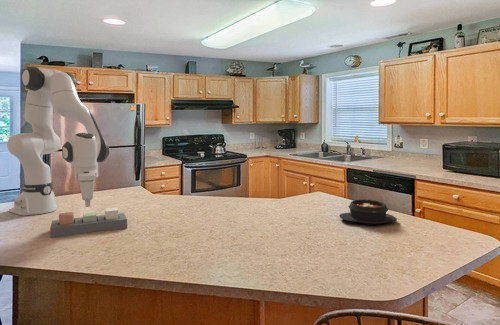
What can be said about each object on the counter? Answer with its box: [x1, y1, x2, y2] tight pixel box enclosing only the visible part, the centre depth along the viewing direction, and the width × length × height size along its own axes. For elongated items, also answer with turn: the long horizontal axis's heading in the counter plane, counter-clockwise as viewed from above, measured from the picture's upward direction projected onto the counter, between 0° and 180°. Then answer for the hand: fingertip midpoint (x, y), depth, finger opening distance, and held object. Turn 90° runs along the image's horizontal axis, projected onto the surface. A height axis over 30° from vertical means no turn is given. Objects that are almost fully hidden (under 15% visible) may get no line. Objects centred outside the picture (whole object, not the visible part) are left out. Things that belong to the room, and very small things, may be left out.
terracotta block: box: [58, 211, 75, 225], centre depth 141 cm, size 5×5×5 cm
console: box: [49, 212, 128, 239], centre depth 145 cm, size 28×11×4 cm, turn 116°
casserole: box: [338, 199, 398, 226], centre depth 157 cm, size 25×19×8 cm
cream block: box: [104, 207, 119, 220], centre depth 148 cm, size 5×5×5 cm
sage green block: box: [82, 211, 97, 223], centre depth 144 cm, size 5×5×5 cm
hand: (87, 206), depth 144 cm, fingers closed
